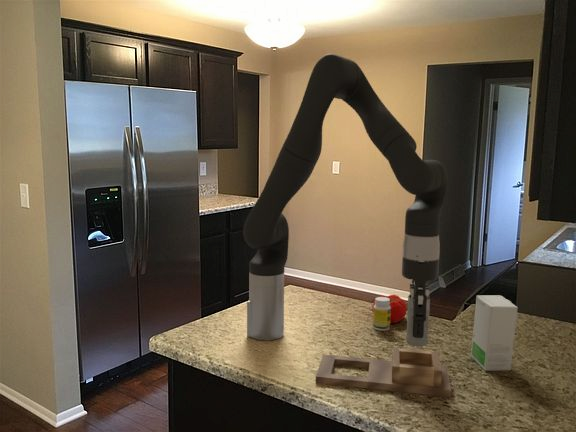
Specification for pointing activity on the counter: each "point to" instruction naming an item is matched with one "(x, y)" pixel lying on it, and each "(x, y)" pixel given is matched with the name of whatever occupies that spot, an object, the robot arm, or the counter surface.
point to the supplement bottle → (382, 314)
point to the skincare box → (493, 332)
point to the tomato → (396, 308)
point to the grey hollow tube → (409, 337)
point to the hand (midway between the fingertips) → (417, 332)
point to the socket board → (391, 372)
